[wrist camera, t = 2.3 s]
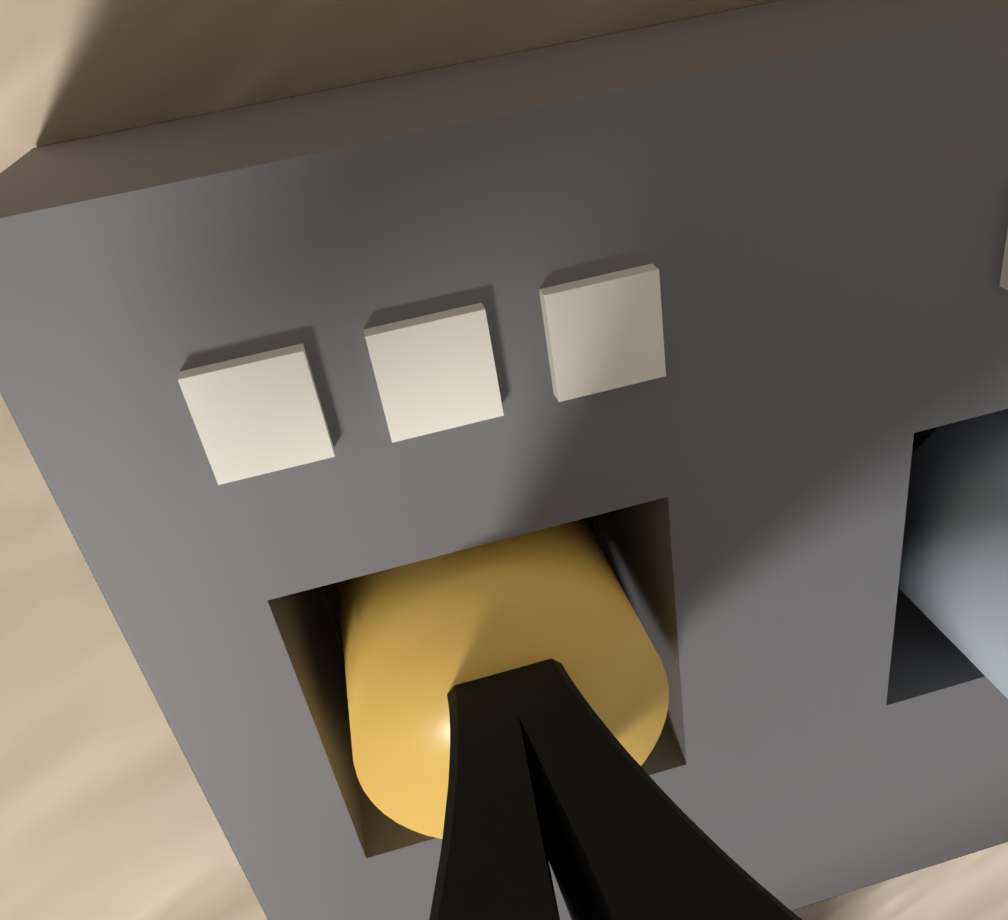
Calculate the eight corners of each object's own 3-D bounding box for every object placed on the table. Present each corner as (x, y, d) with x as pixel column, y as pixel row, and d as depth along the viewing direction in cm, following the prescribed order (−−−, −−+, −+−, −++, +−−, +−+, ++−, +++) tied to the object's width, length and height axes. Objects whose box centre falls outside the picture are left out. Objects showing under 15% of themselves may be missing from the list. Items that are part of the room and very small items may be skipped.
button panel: (1337, 554, 21) (1558, 678, 17) (326, 848, 18) (337, 1067, 15) (1647, -172, 13) (2144, -220, 10) (33, 148, 11) (-89, 241, 7)
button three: (597, 624, 15) (676, 791, 12) (369, 686, 15) (393, 875, 12) (571, 423, 13) (658, 564, 10) (305, 489, 13) (313, 657, 10)
